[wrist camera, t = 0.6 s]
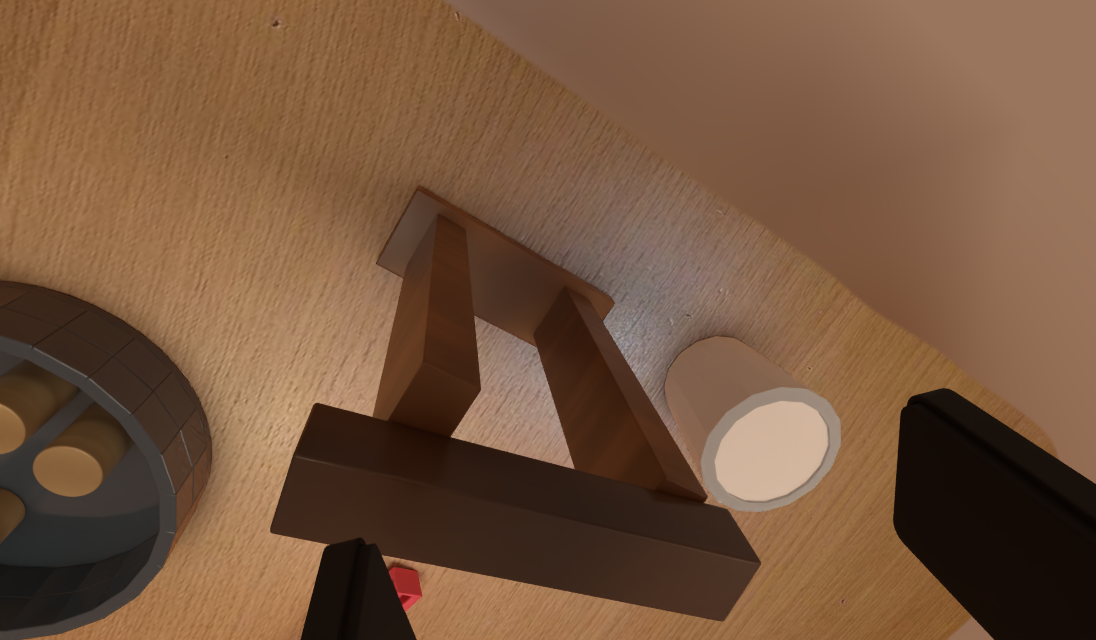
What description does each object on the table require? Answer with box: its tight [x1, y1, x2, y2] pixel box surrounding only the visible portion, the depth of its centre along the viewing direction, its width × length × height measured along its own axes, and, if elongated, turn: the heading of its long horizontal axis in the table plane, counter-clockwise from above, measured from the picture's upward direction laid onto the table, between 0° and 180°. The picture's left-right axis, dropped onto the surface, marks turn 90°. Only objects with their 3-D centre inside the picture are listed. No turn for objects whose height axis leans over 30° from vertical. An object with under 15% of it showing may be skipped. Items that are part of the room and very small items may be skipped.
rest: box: [373, 186, 708, 503], centre depth 22 cm, size 11×4×16 cm, turn 57°
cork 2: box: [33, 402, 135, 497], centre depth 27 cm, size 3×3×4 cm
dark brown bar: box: [270, 403, 761, 621], centre depth 14 cm, size 11×2×2 cm, turn 67°
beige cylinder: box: [664, 336, 841, 512], centre depth 31 cm, size 7×7×7 cm
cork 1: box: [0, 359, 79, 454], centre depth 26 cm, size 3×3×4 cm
